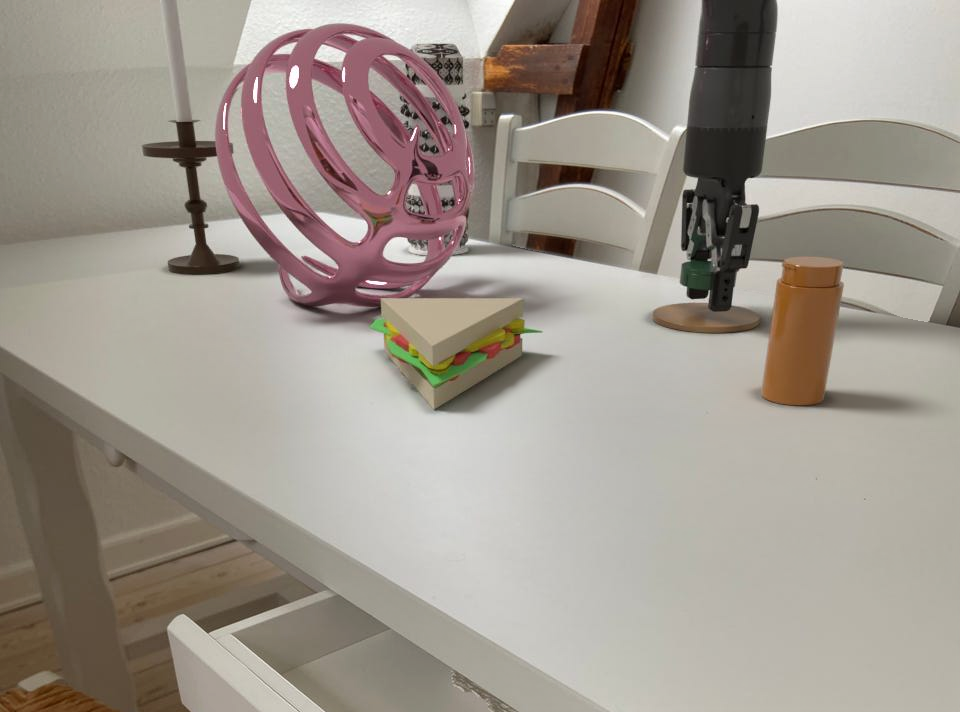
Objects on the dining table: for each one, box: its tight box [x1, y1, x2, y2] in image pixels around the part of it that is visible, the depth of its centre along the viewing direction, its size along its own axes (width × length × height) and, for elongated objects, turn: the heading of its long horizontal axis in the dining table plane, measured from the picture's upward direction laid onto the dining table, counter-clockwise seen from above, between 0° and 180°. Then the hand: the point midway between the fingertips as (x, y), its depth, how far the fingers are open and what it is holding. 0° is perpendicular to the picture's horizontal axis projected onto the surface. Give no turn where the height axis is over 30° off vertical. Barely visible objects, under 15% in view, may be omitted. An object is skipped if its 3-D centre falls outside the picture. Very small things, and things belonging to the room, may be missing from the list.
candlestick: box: [141, 0, 241, 275], centre depth 121 cm, size 11×11×35 cm
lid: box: [679, 260, 738, 291], centre depth 102 cm, size 6×6×2 cm
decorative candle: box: [399, 43, 470, 256], centre depth 134 cm, size 9×9×25 cm
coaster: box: [651, 302, 761, 334], centre depth 105 cm, size 11×11×1 cm
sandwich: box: [369, 297, 543, 410], centre depth 86 cm, size 15×20×5 cm
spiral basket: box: [214, 22, 476, 308], centre depth 108 cm, size 28×28×27 cm
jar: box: [760, 256, 845, 406], centre depth 79 cm, size 5×5×10 cm
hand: (707, 303), depth 104 cm, fingers closed on lid, 5 cm apart
